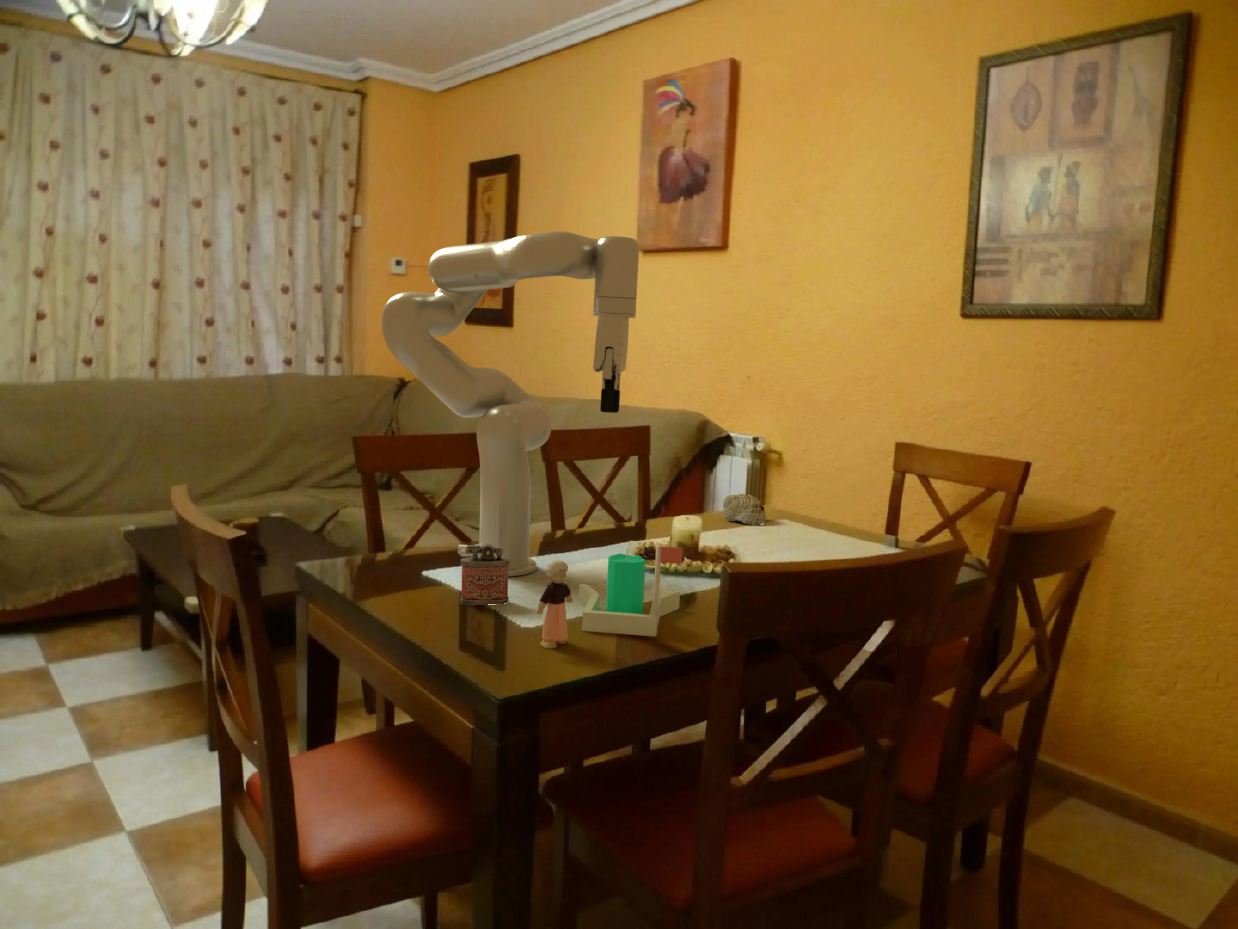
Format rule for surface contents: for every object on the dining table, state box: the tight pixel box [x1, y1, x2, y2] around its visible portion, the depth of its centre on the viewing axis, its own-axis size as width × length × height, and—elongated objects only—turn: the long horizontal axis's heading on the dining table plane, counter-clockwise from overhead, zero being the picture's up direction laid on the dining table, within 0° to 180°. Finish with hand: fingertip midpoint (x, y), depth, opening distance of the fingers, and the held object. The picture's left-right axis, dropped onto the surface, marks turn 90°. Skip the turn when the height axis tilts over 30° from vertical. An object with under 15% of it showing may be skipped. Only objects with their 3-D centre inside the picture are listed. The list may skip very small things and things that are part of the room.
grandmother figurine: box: [535, 558, 573, 650], centre depth 134 cm, size 8×4×13 cm, turn 156°
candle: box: [605, 548, 646, 614], centre depth 145 cm, size 6×6×12 cm
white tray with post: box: [578, 545, 683, 637], centre depth 146 cm, size 18×16×14 cm
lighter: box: [459, 544, 510, 606], centre depth 152 cm, size 8×3×10 cm, turn 100°
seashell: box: [722, 493, 767, 526], centre depth 228 cm, size 10×10×10 cm
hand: (609, 411), depth 163 cm, fingers closed
